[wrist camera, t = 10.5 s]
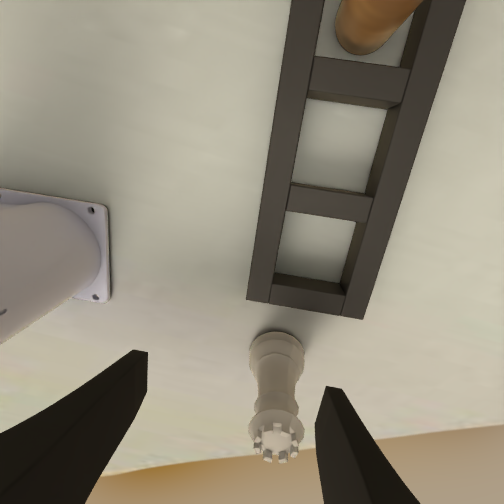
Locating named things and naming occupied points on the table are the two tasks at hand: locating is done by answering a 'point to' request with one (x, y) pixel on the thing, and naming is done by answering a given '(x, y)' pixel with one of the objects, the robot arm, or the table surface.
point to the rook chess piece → (276, 395)
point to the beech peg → (370, 22)
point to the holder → (385, 162)
